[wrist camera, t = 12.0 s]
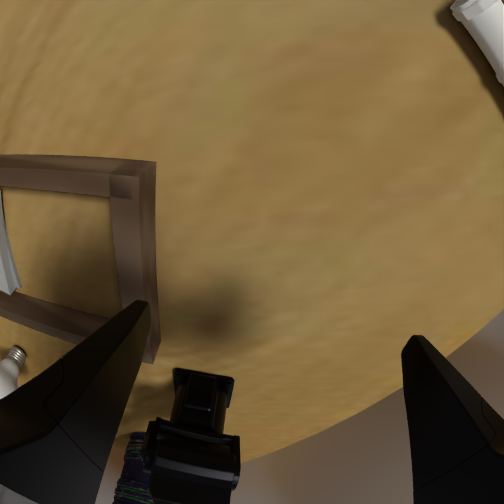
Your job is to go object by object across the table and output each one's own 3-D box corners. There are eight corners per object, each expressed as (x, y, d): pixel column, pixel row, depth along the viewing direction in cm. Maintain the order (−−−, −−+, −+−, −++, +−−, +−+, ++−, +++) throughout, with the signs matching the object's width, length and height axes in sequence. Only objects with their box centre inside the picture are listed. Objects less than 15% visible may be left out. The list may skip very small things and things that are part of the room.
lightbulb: (28, 366, 36) (0, 419, 27) (0, 338, 33) (-33, 391, 24) (44, 361, 34) (13, 421, 25) (13, 330, 31) (-24, 390, 22)
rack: (160, 340, 28) (152, 364, 26) (7, 297, 28) (-5, 313, 25) (156, 161, 19) (139, 177, 16) (-30, 155, 18) (-51, 167, 16)
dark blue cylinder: (121, 435, 46) (102, 503, 33) (146, 427, 42) (126, 507, 29) (164, 455, 49) (151, 520, 36) (194, 449, 45) (182, 524, 32)
